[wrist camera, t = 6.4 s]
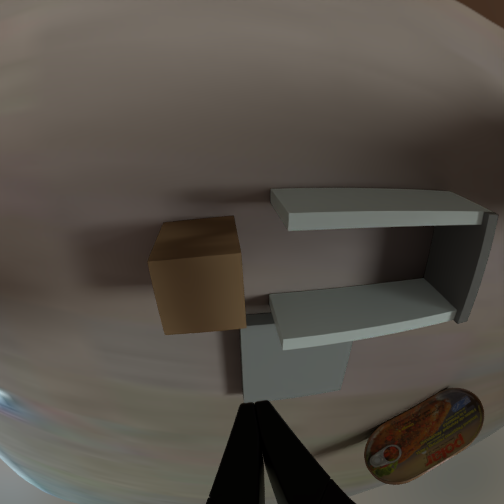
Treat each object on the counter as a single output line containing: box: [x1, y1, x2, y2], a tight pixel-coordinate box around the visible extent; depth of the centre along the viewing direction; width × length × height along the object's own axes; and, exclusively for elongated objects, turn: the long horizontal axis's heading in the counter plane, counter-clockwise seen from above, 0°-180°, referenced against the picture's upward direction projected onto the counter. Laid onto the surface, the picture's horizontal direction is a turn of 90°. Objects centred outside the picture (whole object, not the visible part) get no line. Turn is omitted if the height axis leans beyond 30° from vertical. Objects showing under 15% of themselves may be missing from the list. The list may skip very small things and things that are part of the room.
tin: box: [364, 388, 484, 485], centre depth 26 cm, size 15×3×8 cm, turn 114°
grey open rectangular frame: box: [269, 188, 498, 350], centre depth 17 cm, size 13×8×5 cm, turn 91°
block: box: [147, 216, 247, 335], centre depth 16 cm, size 4×4×5 cm
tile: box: [240, 313, 353, 403], centre depth 22 cm, size 8×8×1 cm
